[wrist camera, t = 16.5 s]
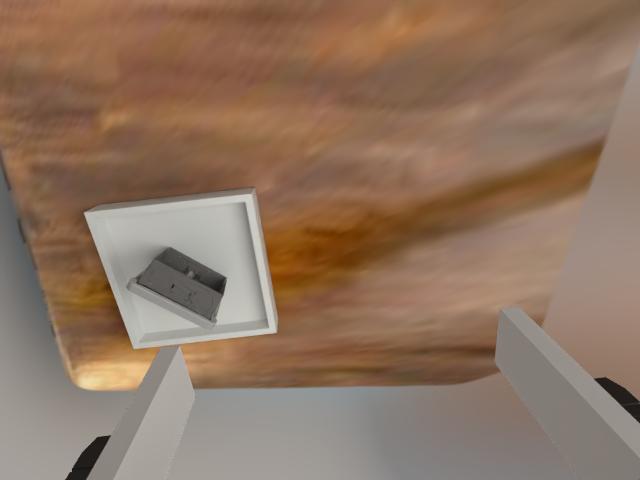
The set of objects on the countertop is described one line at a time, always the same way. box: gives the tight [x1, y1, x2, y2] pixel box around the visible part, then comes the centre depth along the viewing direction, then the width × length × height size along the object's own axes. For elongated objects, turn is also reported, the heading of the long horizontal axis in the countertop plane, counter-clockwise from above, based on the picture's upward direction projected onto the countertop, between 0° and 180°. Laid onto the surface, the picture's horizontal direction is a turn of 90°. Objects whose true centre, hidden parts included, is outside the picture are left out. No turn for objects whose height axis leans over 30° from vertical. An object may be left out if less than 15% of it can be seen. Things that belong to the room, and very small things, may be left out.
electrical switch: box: [126, 247, 227, 330], centre depth 39 cm, size 9×5×9 cm, turn 56°
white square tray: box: [84, 187, 278, 349], centre depth 43 cm, size 18×18×3 cm
